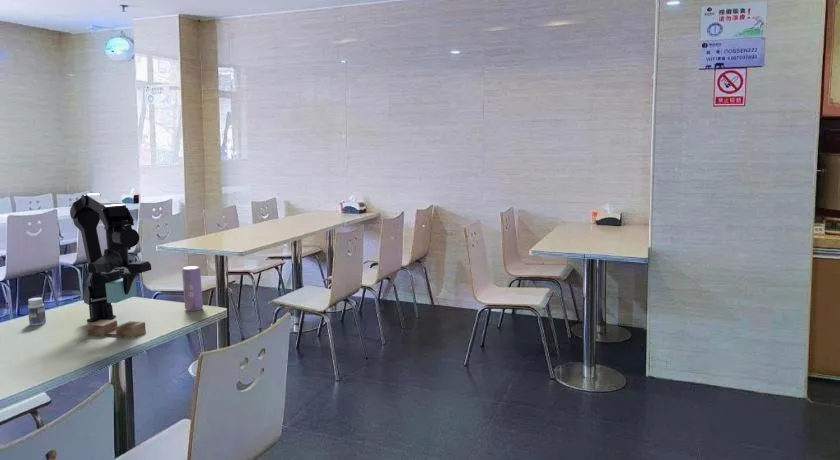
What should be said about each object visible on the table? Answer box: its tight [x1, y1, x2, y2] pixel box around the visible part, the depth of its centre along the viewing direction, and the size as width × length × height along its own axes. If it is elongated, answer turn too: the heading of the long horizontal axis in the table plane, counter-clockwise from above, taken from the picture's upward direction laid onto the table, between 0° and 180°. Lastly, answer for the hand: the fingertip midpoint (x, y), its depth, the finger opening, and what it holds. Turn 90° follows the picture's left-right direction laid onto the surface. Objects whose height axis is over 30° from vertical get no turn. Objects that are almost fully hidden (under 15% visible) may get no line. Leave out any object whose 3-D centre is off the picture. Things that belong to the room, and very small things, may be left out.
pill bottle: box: [27, 297, 47, 326], centre depth 209 cm, size 5×5×8 cm
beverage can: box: [181, 265, 204, 312], centre depth 222 cm, size 6×6×15 cm
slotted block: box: [86, 319, 146, 339], centre depth 196 cm, size 16×6×3 cm, turn 76°
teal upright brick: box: [105, 277, 138, 304], centre depth 197 cm, size 3×10×6 cm, turn 168°
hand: (121, 294), depth 198 cm, fingers closed on teal upright brick, 3 cm apart
